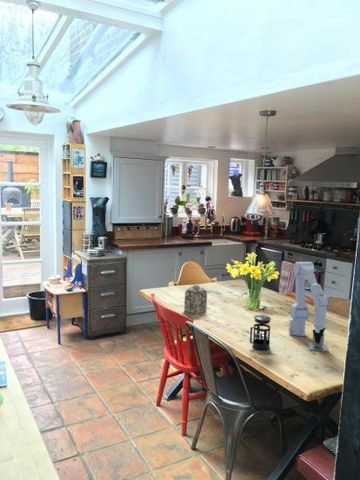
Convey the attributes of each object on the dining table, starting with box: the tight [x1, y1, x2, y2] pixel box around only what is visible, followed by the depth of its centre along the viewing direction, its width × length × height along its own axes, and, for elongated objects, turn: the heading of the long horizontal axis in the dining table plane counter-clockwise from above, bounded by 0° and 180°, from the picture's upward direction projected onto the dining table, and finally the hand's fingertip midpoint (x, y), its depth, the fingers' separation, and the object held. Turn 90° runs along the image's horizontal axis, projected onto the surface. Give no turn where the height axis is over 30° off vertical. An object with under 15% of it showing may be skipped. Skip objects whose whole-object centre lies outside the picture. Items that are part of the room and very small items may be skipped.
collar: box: [312, 333, 325, 347], centre depth 221 cm, size 5×5×6 cm
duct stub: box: [307, 342, 330, 354], centre depth 221 cm, size 10×10×5 cm
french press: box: [249, 305, 272, 352], centre depth 219 cm, size 12×9×23 cm
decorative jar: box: [183, 284, 208, 315], centre depth 281 cm, size 12×12×18 cm
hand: (318, 341), depth 221 cm, fingers closed on collar, 5 cm apart
